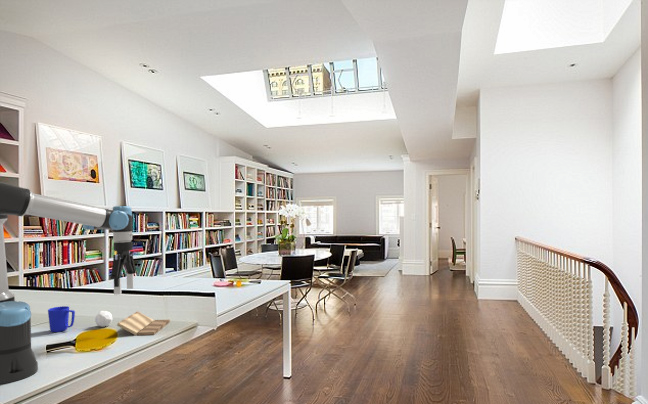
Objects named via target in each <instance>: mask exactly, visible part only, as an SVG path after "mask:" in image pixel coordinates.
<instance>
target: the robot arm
mask: <svg viewBox="0 0 648 404" xmlns="http://www.w3.org/2000/svg"><path fill="white" fill-rule="evenodd" d="M25 215H28V216H34V217H39V218H45V219H52V220H57V221H62V222H69V223H75V224H79V225H82V226H83V228H84V229H85V230H89V231H90V230H92V231H94V230H112V233H113V234H112V241H113V251H114V252H116V253H117V254H113V256H112V257H113V259H112V260H113V261H112V267H111V272H110V273H111V274H110V279H111V280H113V294H114V295H116V296H117V295H122V279H121V275H122V271H123V267H124V268H125V270H126V273H127V274H126V290H127V289H128V290H131V289H132V290H133V289H135V288H134V287H135V284H134V274H136V273H137V272H136V271H137V270H136V266H135V264H136V263H135V261H134V255H133V251H132V250H133V248H134V246H133V241H132V240H133V236H134V233H133V212H132V207H131V206H130V205H115V206H113V207H112V209H109V208H104V207H98V206H94V205H90V204H85V203H80V202H76V201H71V200H66V199H61V198H57V197H53V196H48V195H42V194H39V193H38V194H37V193H34V192H32V190H31V189H30V188H25V187H20V186H17V185H13V184H10V183H6V182H3V181H0V384H7V383H12V382H17V381H19V380H24V379H25V378H28V377H30V376H33V375H35V374H36V373H37V372H38V371H39V363H38V361H37V359H36V356H35V354H34V351H33V349H32V319H31V318H32V311H31V306H30V304H29V303H27V302H26V301H25V302H24V301H17V300H16V299H15V294H14V293H13V292H11V291H9V290H10V289H9V279H8V271H7V270H8V269H7V268H8V267H7V258H6V245H5V234H4V232H5V231H4V224H5V222H7V220H8V219H9V217H8V216H17V217H24V216H25Z"/></svg>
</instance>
